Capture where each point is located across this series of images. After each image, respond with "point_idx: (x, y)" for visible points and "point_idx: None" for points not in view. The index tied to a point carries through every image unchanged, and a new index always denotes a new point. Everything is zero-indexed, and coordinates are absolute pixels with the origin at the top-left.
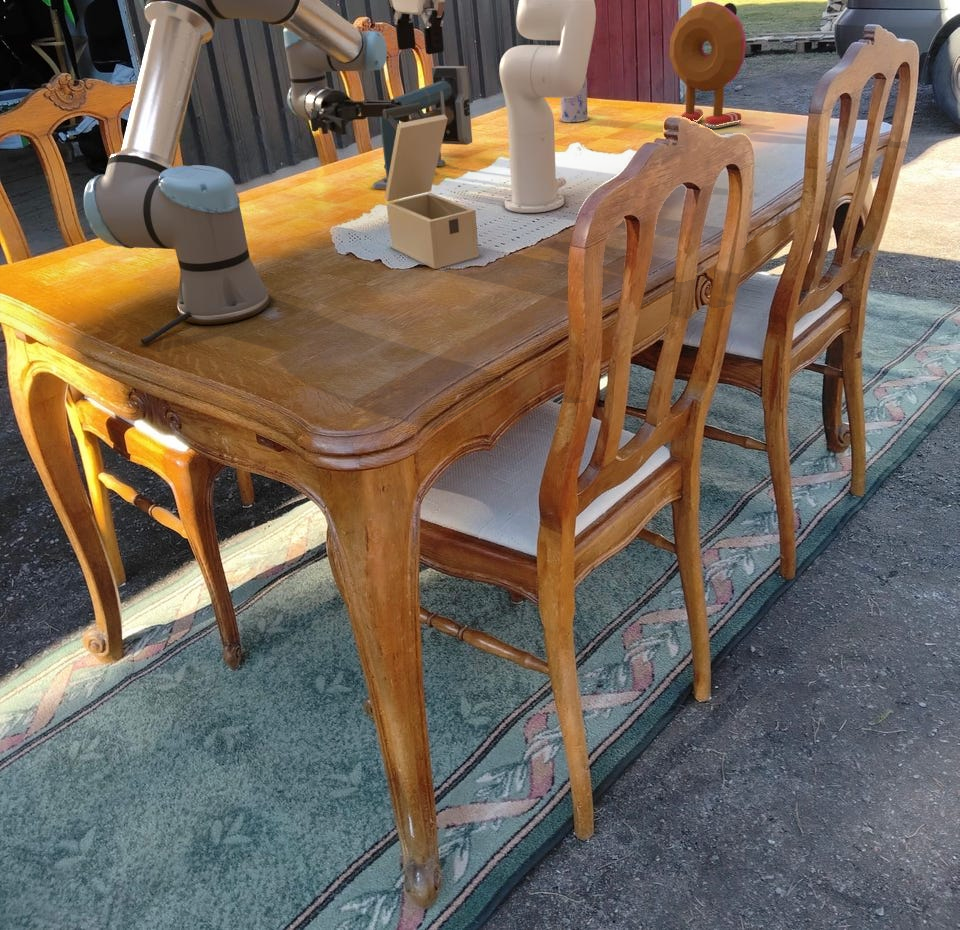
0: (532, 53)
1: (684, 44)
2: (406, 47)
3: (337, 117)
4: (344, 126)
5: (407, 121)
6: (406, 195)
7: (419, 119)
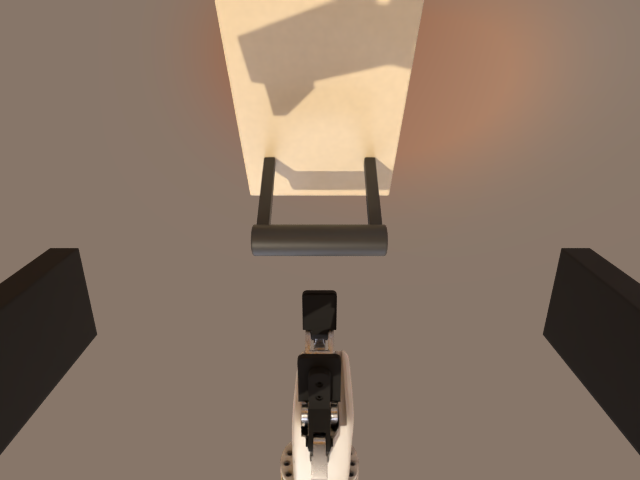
0: None
1: None
2: (314, 355)
3: (33, 412)
4: (82, 296)
5: (581, 251)
6: None
7: (313, 194)
